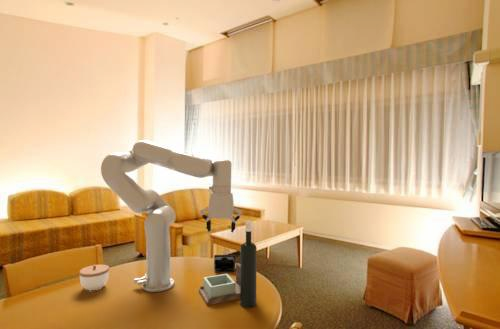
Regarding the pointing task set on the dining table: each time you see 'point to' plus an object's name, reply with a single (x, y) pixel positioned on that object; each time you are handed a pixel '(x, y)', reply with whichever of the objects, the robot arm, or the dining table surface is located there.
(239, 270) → the rail board
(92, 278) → the lidded jar
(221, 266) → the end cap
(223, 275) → the socket block
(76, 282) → the dining table surface
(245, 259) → the wine bottle
